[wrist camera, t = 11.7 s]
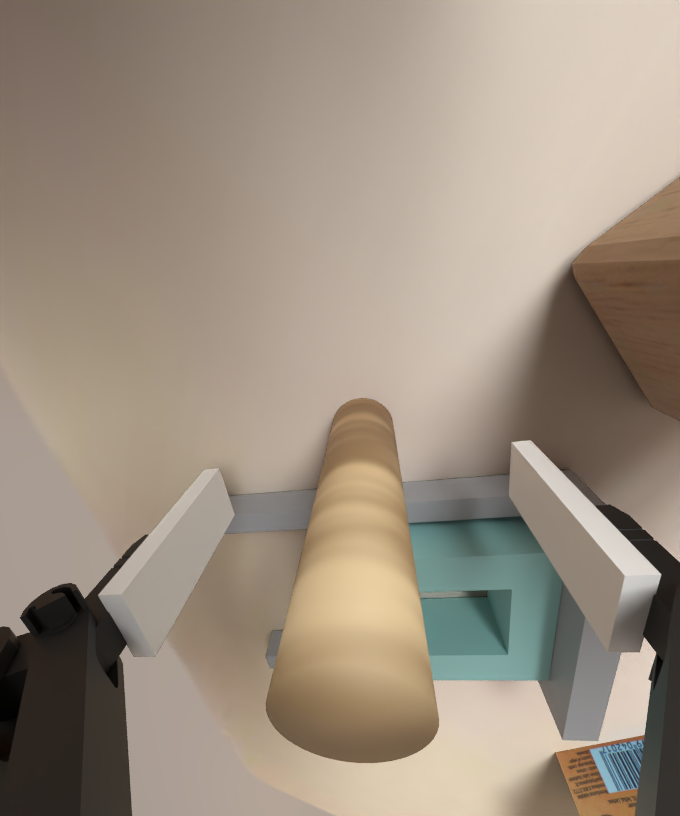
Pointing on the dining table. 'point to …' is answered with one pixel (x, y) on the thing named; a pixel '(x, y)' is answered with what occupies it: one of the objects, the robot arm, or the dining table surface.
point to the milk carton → (604, 776)
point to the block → (641, 294)
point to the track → (459, 500)
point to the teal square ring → (486, 599)
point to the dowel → (356, 609)
